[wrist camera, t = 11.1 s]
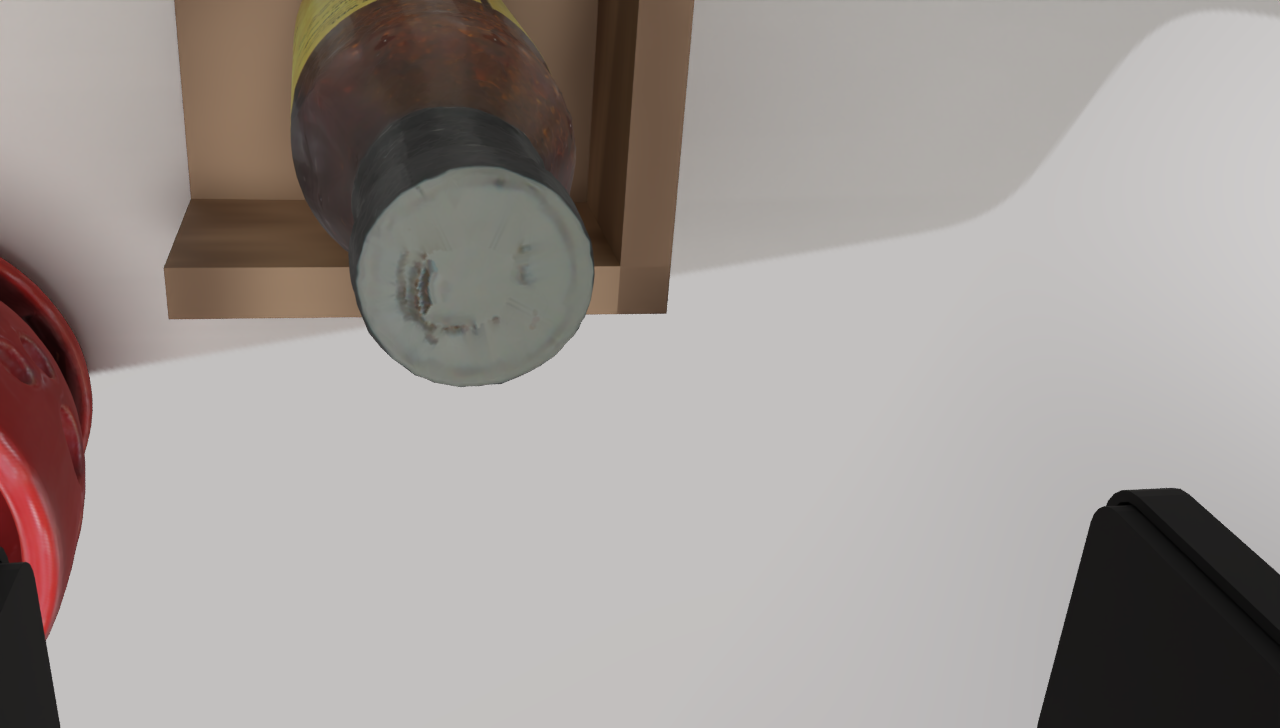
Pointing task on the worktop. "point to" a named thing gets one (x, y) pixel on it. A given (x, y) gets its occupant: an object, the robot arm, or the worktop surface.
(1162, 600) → the robot arm
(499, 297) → the sauce bottle
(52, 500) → the plant pot
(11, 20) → the worktop surface
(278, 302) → the u rest
